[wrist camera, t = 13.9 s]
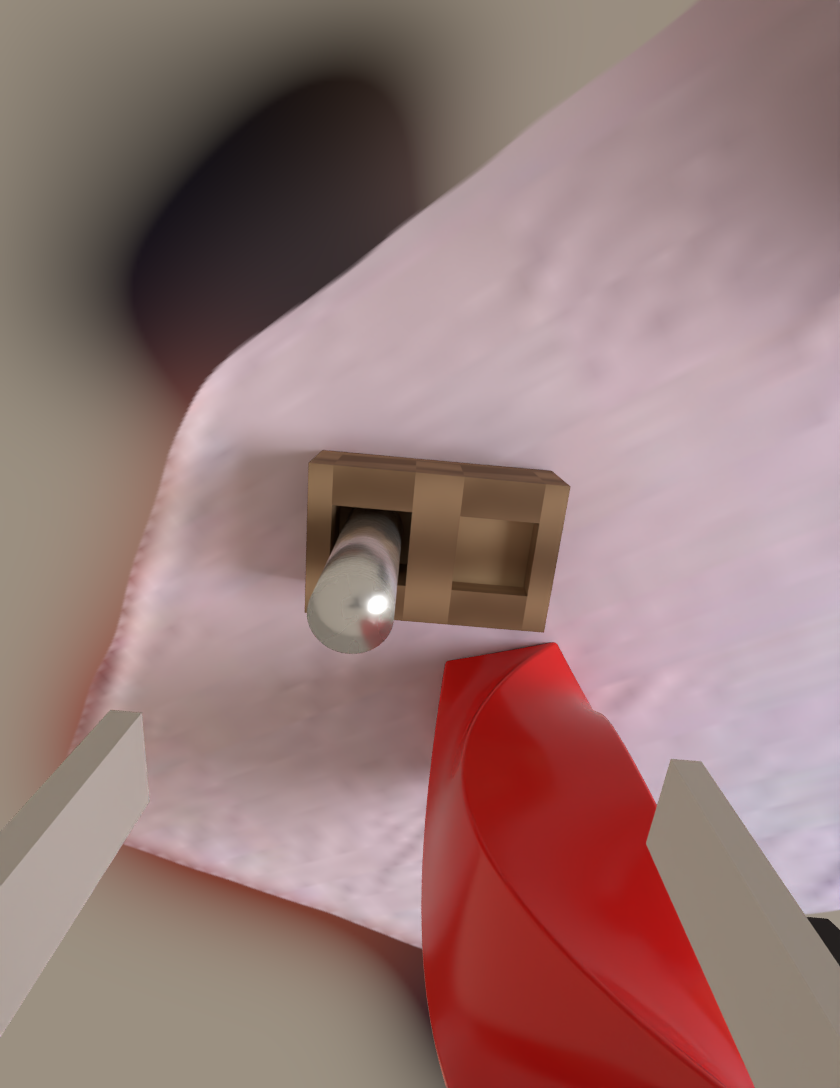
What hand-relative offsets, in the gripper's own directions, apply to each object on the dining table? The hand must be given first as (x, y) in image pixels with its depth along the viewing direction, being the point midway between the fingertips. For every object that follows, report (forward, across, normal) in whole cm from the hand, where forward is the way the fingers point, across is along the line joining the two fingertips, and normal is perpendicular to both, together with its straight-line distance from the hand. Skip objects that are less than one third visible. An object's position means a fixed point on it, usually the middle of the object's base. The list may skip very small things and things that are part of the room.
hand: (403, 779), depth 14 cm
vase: (+27, +9, -16) cm, 33 cm away
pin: (+26, -3, -2) cm, 26 cm away
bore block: (+26, +1, -2) cm, 27 cm away
